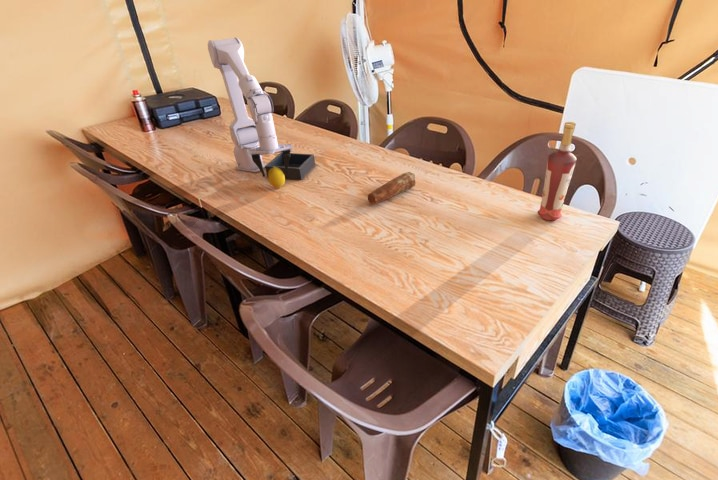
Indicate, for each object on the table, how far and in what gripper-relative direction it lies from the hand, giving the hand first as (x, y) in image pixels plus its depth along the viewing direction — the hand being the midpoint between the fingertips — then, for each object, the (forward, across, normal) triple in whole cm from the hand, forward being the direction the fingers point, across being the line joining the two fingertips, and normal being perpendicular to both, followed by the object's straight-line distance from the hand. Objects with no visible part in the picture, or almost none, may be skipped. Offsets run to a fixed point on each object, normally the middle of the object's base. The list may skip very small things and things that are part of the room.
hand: (275, 173), depth 138 cm
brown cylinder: (+5, +36, -20) cm, 41 cm away
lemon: (+6, 0, 0) cm, 6 cm away
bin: (+5, +6, +13) cm, 15 cm away
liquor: (+5, +76, -50) cm, 91 cm away
